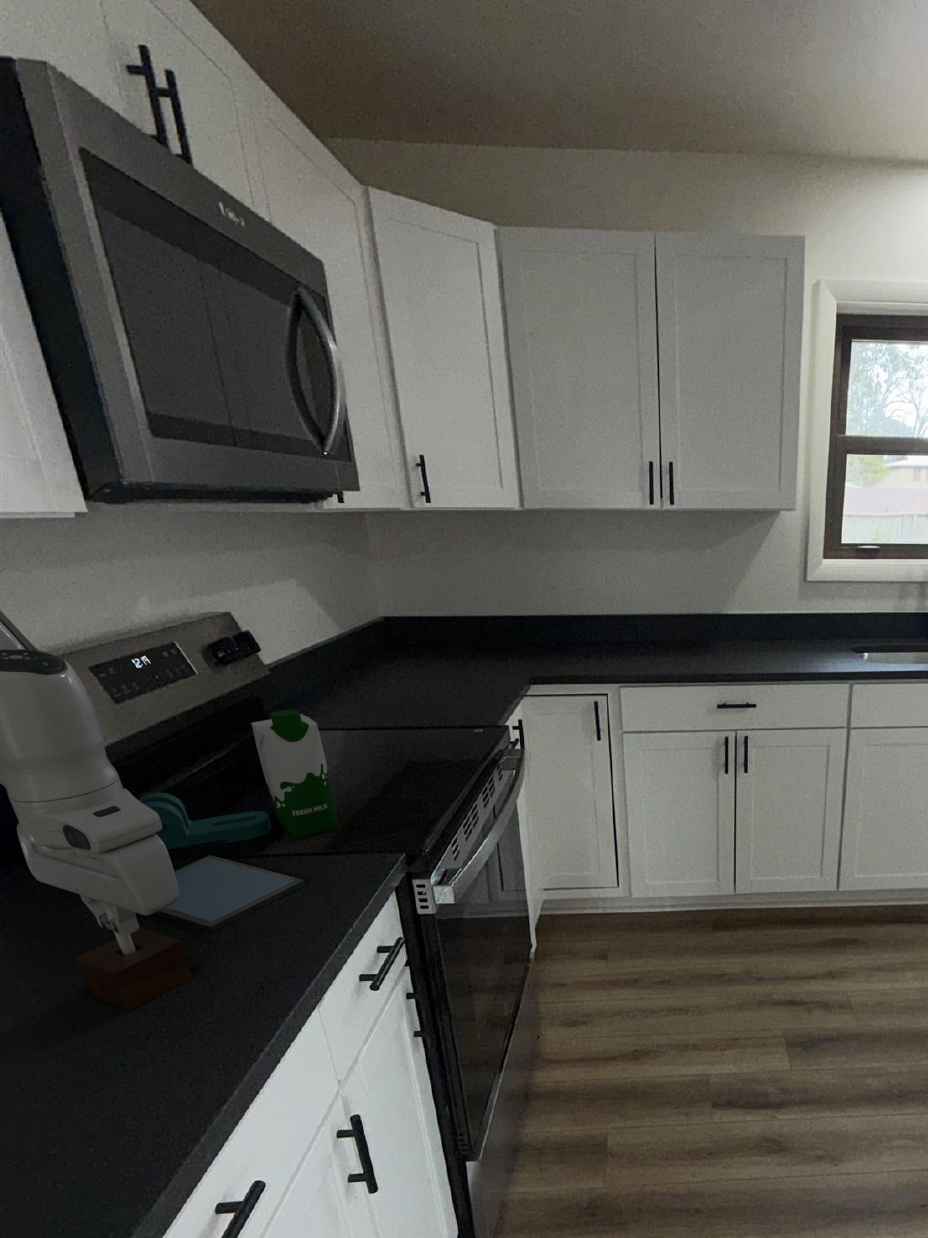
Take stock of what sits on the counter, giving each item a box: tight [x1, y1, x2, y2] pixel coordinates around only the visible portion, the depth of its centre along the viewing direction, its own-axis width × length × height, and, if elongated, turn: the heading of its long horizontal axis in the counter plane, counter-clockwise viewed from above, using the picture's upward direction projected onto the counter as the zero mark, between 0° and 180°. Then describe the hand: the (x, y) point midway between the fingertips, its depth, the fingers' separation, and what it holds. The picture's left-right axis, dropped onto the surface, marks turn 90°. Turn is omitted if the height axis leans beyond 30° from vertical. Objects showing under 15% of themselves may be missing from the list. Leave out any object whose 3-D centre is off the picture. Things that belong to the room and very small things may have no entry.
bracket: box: [137, 791, 273, 850], centre depth 123 cm, size 18×7×8 cm, turn 119°
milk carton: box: [251, 708, 340, 840], centre depth 125 cm, size 9×9×20 cm
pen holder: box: [75, 927, 193, 1012], centre depth 87 cm, size 7×7×5 cm
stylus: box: [102, 902, 136, 956], centre depth 85 cm, size 1×1×12 cm
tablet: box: [153, 854, 306, 933], centre depth 108 cm, size 20×14×1 cm
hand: (120, 929), depth 85 cm, fingers closed on stylus, 1 cm apart
